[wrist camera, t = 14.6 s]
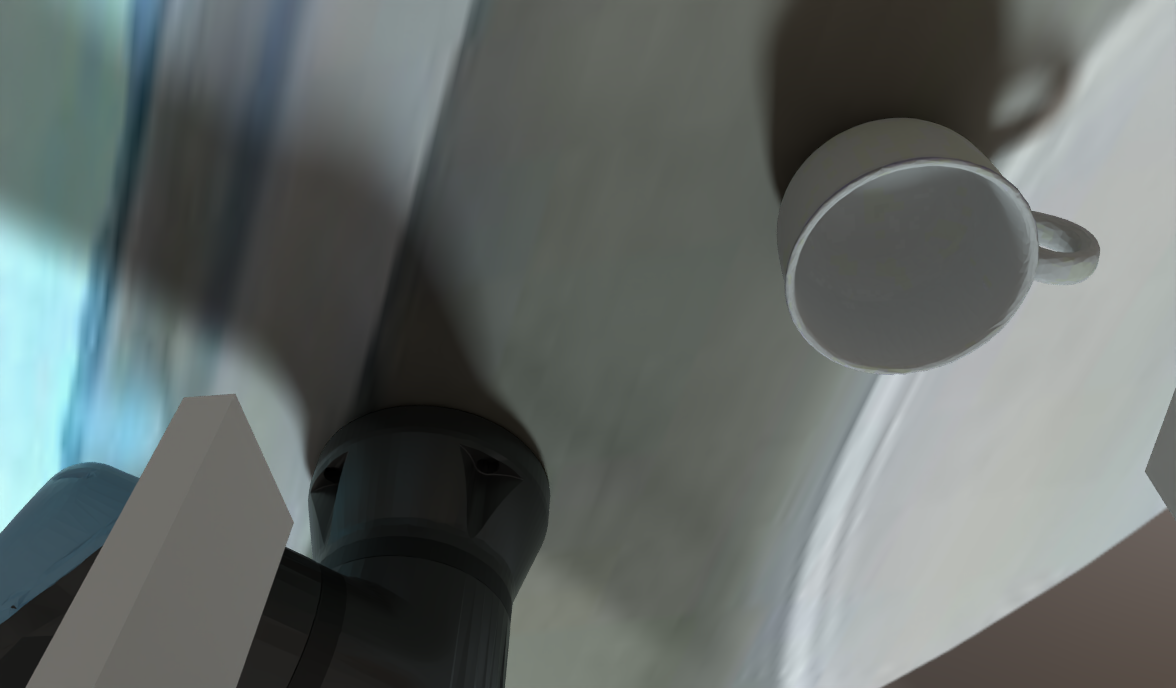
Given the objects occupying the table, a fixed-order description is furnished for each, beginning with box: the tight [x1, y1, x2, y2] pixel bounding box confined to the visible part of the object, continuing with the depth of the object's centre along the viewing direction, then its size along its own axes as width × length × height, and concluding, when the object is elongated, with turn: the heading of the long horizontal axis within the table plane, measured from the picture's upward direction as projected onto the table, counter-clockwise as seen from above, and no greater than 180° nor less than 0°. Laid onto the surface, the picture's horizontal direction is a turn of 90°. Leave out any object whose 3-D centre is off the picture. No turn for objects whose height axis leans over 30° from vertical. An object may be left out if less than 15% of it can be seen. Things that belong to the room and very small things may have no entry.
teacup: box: [777, 118, 1100, 375], centre depth 43 cm, size 14×11×8 cm
